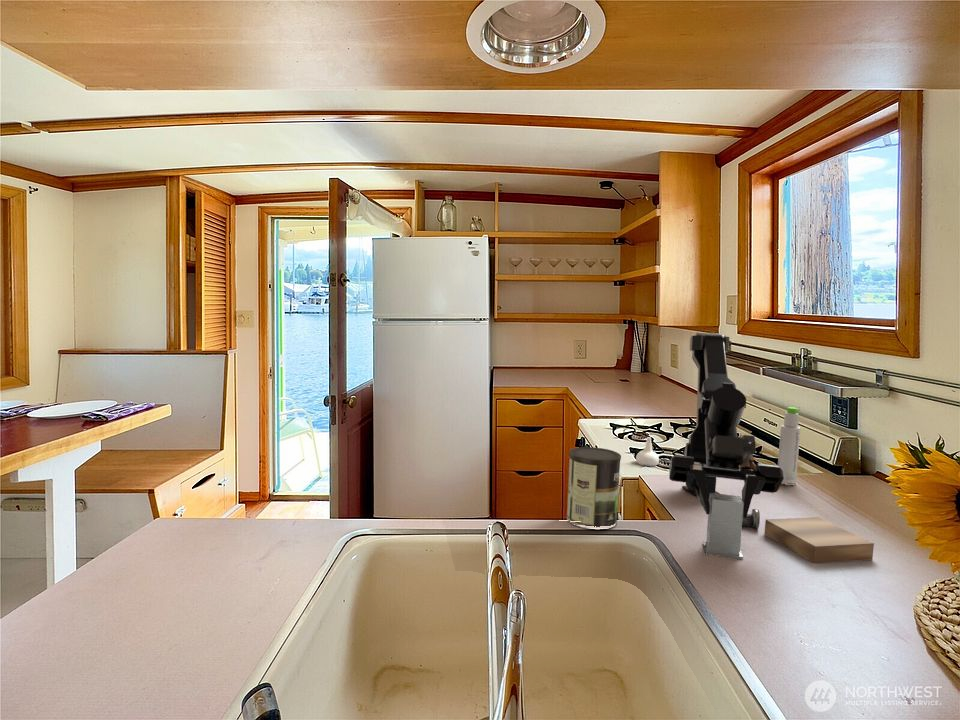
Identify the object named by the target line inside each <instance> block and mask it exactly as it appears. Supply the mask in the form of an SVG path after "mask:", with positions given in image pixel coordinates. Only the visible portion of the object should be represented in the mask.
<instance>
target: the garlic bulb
mask: <svg viewBox="0 0 960 720" xmlns="http://www.w3.org/2000/svg"><path fill="white" fill-rule="evenodd" d="M645 442H646V443H645V446H644V449H643V450H640V451H639V452H638V453H637V454H636V456H635V461H636V463H637V464H638V465H641V466H646V467H655V466H657V465H658V464H659V461H660V458H659V455H658V454H657V453H656V452H655V451H654V450H653V446H652V437H647V436H646V441H645Z"/></svg>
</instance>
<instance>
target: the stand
mask: <svg viewBox="0 0 960 720" xmlns="http://www.w3.org/2000/svg"><path fill="white" fill-rule="evenodd" d="M764 523H765V524H764V532H763V533H764V535H765V536H767V537H768V538H770V539H772V540H774V541H775V542H777V543H779V544H780V545H783V546H784V547H786V548H787V549H789V550H791V551H792V552H794V553H795V554H798V555H799V556H801V557H803V558H805V559H806V560H808V561H810V562H811V563H813V564H819V563H821V564H823V563H836V562H837V563H838V562H839V563H840V562H853V561H854V562H855V561H857V562H858V561H872V560H873V558H874V557H873V556H874V555H873V554H874V548H875V547H874V546H875V543H874V542H872V541H870V540H868V539H865V538H863V537H861V536H859V535H857V534H855V533H853V532H851V531H848V530H846V528H845V529H844V528H842V527H840V526H839V525H836V524H834V523H832V522H830V521H828V520H825V519H824V518H822V517H818V516H817V517H815V516H814V517H813V516H812V517H794V518H793V517H791V518H766V519H765V522H764Z"/></svg>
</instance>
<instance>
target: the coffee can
mask: <svg viewBox="0 0 960 720" xmlns="http://www.w3.org/2000/svg"><path fill="white" fill-rule="evenodd" d="M568 455H569V461H568V462H569V463H568V464H569V465H568V489H567V507H566V510H567V511H566V520H567V522H569V521H581V522H569V523H570V524H571V523H572V524H571V525H573V524H575V525H585V526H594V527H595V526H596V527H600V526H611V525H614V524H616V522H617V523H618V507H619V506H618V505H619V502H618V501H619V488H620V487H619V486H620V469H621V460H622V455H621V454H620V453H619V452H617V451H615V450H611V449H607V448H604V447H603V448H601V447H591V446H590V447H589V446H582V447H574V448H571V449H570V450H569V452H568ZM575 525H574V526H575Z"/></svg>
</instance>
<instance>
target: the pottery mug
mask: <svg viewBox="0 0 960 720" xmlns="http://www.w3.org/2000/svg"><path fill="white" fill-rule="evenodd" d="M754 461H756V460H755V457H754V454H752V455H750V454H744V457H743V464H742V465H740V469H743V468H748V467H749V469H750V470H753V471H755V468H756V466H757V464H755V463H754Z"/></svg>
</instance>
